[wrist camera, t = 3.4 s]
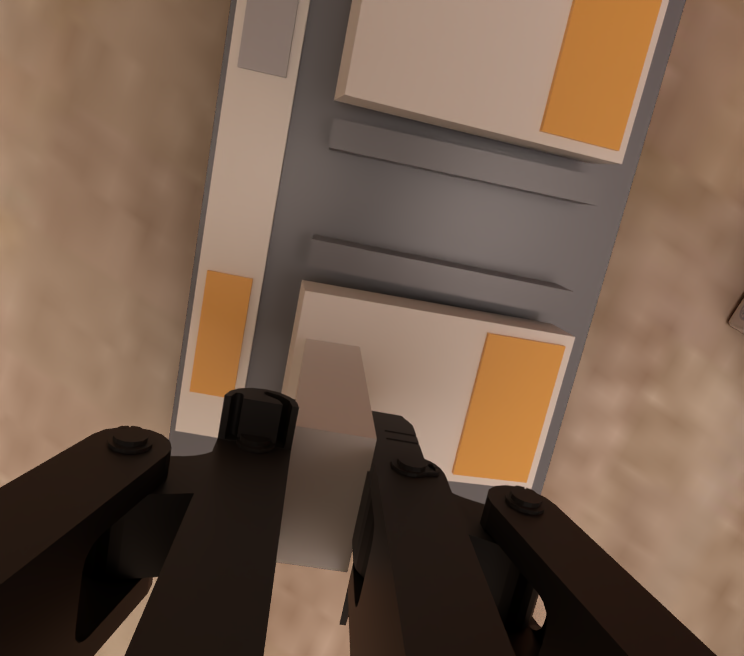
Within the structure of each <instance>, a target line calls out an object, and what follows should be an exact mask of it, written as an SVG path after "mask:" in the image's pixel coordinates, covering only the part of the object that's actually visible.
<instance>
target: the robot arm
mask: <svg viewBox="0 0 744 656" xmlns="http://www.w3.org/2000/svg"><path fill="white" fill-rule="evenodd" d="M171 449H172V447H171V443H170V441H169V440H168V439H167V438H166V437H164V436H163V435H162V434H159V433H156V432H154V431H151V430H146V429H142V428H141V427H136V426H131V427H129V426H120V427H118V428H112V429H105V430H102V431H100V432H97V433H94V434H92V435H91V436H89V437H87V438H85V439H84V440H82V441H80V442H78V443H77V444H75V445H73V446H72V447H70V448H68V449H66V450H65V451H63V452H61V453H59V454H58V455H56V456H54V457H52V458H51V459H49V460H47V461H46V462H44V463H42V464H40V465H39V466H37V467H35V468H33V469H32V470H30V471H28V472H26V473H25V474H23V475H21V476H20V477H18V478H16V479H14V480H13V481H11V482H9V483H7V484H6V485H4V486H2V487H1V488H0V656H94V655H95V654H96V653H97V651H98V650H99V649H100V648H101V647H102V646H103V644H104V643H105V642H106V641H107V640H108V639H109V638H110V636H111V635H112V634H113V633H114V632H115V631H116V629H117V628H118V627H119V626H120V625H121V624H122V622H123V621H124V620H125V619H126V618H127V617H128V616H129V614H130V613H131V612H132V611H133V610H134V609H135V607H136V606H137V605H138V604H139V603H140V602H141V600H142V599H143V598H144V597H145V596H146V595H147V593H148V591H149V589H150V587H151V585H152V580H153V577H158V579H157V581H156V583H155V586H154V588H153V590H152V593H151V595H150V597H149V600H148V602H147V604H146V607H145V609H144V611H143V614H142V616H141V618H140V621H139V623H138V626H137V628H136V630H135V633H134V635H133V637H132V640H131V642H130V644H129V647H128V649H127V651H126V654H125V656H263V655H264V648H265V640H266V633H267V625H268V618H269V611H270V603H271V596H272V588H273V581H274V573H275V566H276V562H278V563H285V564H292V565H299V566H306V567H314V568H321V569H328V570H335V571H342V572H347V571H348V567H349V562H350V558H351V553H352V549H353V566H352V571H351V575H350V580H349V584H348V589H347V593H346V598H345V602H344V607H343V611H342V616H341V620H340V625H346V622H347V619H348V617H349V634H350V656H717V655H715V654H714V653H713V652H712V651H711V650H710V649H709V648H708V647H707V646H706V645H705V644H704V643H703V642H702V641H701V640H699V639H698V638H697V637H696V636H695V635H694V634H693V633H692V632H691V631H690V630H689V629H688V628H687V627H686V626H684V625H683V624H682V623H681V622H680V621H679V620H678V619H677V618H676V617H675V616H674V615H673V614H672V613H671V612H669V611H668V610H667V609H666V608H665V607H664V606H663V605H662V604H661V603H660V602H659V601H658V600H657V599H656V598H655V597H653V596H652V595H651V594H650V593H649V592H648V591H647V590H646V589H645V588H644V587H643V586H642V585H641V584H640V583H638V582H637V581H636V580H635V579H634V578H633V577H632V576H631V575H630V574H629V573H628V572H627V571H626V570H625V569H623V568H622V567H621V566H620V565H619V564H618V563H617V562H616V561H615V560H614V559H613V558H612V557H611V556H610V555H609V554H607V553H606V552H605V551H604V550H603V549H602V548H601V547H600V546H599V545H598V544H597V543H596V542H595V541H594V540H592V539H591V538H590V537H589V536H588V535H587V534H586V533H585V532H584V531H583V530H582V529H581V528H580V527H579V526H577V525H576V524H575V523H574V522H573V521H572V520H571V519H570V518H569V517H568V516H567V515H566V514H565V513H564V512H563V511H561V510H560V509H559V508H558V507H557V506H556V505H555V504H554V503H552V502H551V501H549V500H548V499H547V498H545V497H543V496H541V495H539V494H537V493H536V492H535V491H534V490H532V489H529V488H526V489H525V487H522V486H517V485H516V486H509V485H500V486H494V487H492V488H490V489H489V490H488V494H487V498H486V501H485V504H482V503H479V502H476V501H473V500H470V499H467V498H464V497H461V496H458V495H456V494H454V493H452V491H451V488H450V486H449V483H448V481H447V478H446V475H445V474H444V472H443V471H442V470H441V468H440V467H438V466H437V465H436V464H434V463H432V462H431V461H428V460H426V459H424V456H423V453H422V451H421V448H420V445H419V442H418V439H417V437H416V433H415V430H414V427H413V425H412V424H411V423H409V422H408V421H407V420H406V419H405V418H404V417H402V416H400V415H394V414H388V413H382V412H377V411H372V410H371V405H370V400H369V394H368V389H367V383H366V378H365V372H364V367H363V362H362V356H361V351H360V347H358V346H351V345H345V344H339V343H332V342H326V341H319V340H313V339H307V338H306V342H305V347H304V352H303V357H302V363H301V368H300V373H299V379H298V384H297V389H296V395H295V399H292V398H291V397H289V396H287V395H284V394H282V393H279V392H276V391H271V390H267V389H260V388H238V389H235V390H231V391H229V392H228V393H226V394H225V395H224V401H223V408H222V414H221V420H220V426H219V432H218V438H217V441H216V443H215V445H214V448H213V450H212V452H209V453H206V454H201V455H194V456H171ZM538 595H540V597H541V599H542V601H543V603H544V606H545V609H546V614H547V615H546V619H545V622H544V624H543V626H542V628H541V627H540V626H539V625H538V624H537V622H536V621H535V620H534V618H533V617H532V615H533V612H534V608H535V605H536V602H537V598H538Z"/></svg>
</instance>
